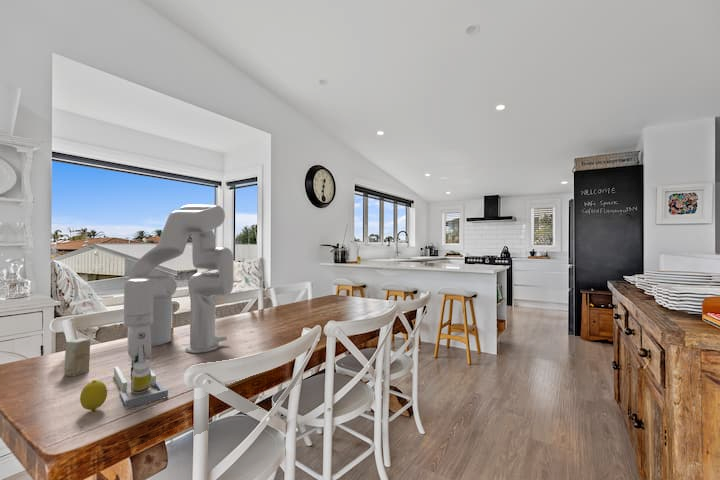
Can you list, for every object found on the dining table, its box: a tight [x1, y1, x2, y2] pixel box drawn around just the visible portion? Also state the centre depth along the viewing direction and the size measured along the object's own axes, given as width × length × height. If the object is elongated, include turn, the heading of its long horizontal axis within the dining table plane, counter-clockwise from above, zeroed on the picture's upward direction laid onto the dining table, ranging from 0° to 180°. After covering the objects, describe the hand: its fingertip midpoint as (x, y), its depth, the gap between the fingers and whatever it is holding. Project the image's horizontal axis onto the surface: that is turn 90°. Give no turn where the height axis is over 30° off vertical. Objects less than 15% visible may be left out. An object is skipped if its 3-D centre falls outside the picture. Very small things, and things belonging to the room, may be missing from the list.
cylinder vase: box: [150, 295, 173, 347], centre depth 147 cm, size 12×12×25 cm
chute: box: [113, 366, 157, 394], centre depth 107 cm, size 8×17×3 cm, turn 43°
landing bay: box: [119, 381, 169, 409], centre depth 96 cm, size 10×10×2 cm
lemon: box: [79, 379, 108, 412], centre depth 88 cm, size 6×6×8 cm
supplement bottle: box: [130, 359, 152, 394], centre depth 98 cm, size 5×5×8 cm
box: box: [63, 337, 91, 377], centre depth 112 cm, size 5×4×11 cm
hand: (137, 379), depth 102 cm, fingers closed
